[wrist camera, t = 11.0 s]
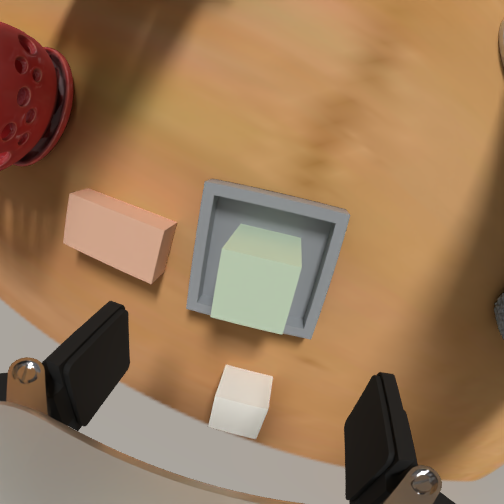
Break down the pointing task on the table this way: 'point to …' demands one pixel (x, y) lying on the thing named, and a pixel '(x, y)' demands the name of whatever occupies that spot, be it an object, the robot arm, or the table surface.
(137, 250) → the terracotta brick
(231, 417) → the cream cube
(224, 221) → the grey tray
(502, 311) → the koala plush
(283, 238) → the sage block
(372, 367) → the table surface
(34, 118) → the plant pot
